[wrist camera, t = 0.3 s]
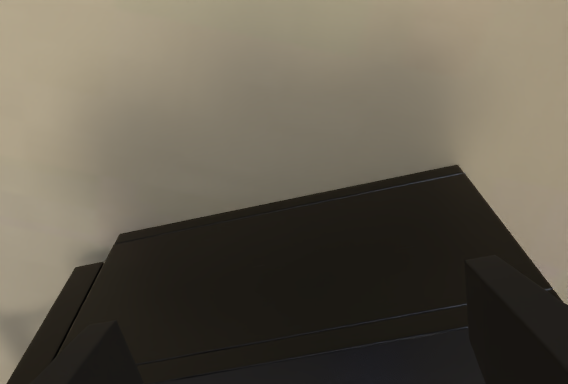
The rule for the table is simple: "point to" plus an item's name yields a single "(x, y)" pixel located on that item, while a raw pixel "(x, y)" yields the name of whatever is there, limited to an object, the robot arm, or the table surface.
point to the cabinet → (309, 287)
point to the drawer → (56, 324)
